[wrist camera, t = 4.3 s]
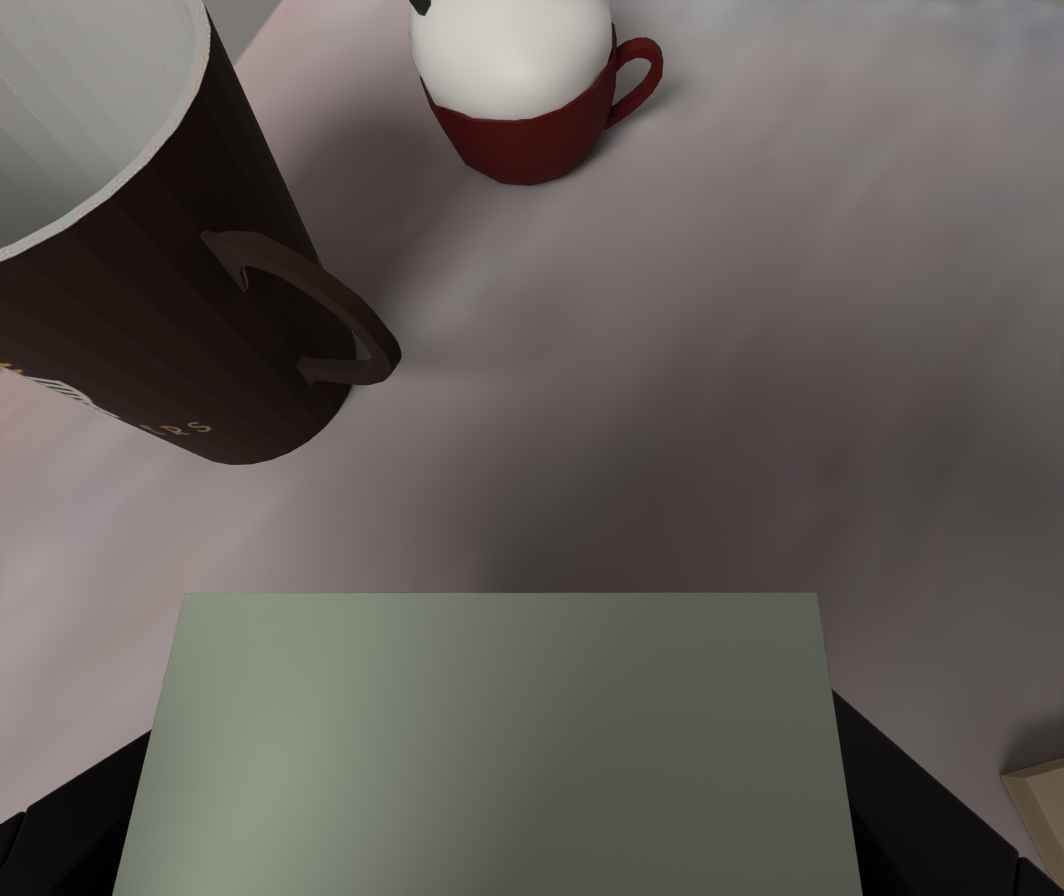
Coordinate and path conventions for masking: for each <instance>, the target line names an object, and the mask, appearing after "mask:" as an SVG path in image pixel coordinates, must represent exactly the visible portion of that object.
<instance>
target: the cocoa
mask: <svg viewBox="0 0 1064 896" xmlns="http://www.w3.org/2000/svg"><path fill="white" fill-rule="evenodd" d="M409 1H410V2H411V10H410V23H409V37H410V43H411V49H412V55H413V60H414V63H415V65H416V67H417V69H418V71H419V73H420V75H421V76H420V79H421V82H422V85H423V88H424V91H425V94H426V96H427V99H428V102H429V104H430V107H431V109H432V111H433V113H434V114H435V116H436V118H437V120H438V121H439V123H440V125H441V127H442V128H443V130H444V132H445V133H446V135H447V136H448V138H449V140H450V141H451V143H452V144H453V146H454V148H455V149H456V151H457V152H458V154H459V155H460V156H461V158H462V159H463V161H464V162H465V164H466V165H468V166H469V167H471V168H473V169H475V170H477V171H479V172H481V173H483V174H485V175H487V176H488V177H490V178H492V179H494V180H496V181H498V182H500V183H508V184H522V185H532V184H536V183H540V182H543V181H547V180H551V179H554V178H558V177H560V176H562V175H563V174H564V173H566V172H567V171H569V170H570V169H571V168H573V167H574V166H576V165H577V164H579V163H580V162H581V161H583V160H584V159H585V157H586V156H587V155H588V154H589V153H590V152H591V151H592V149H593V147H594V145H595V144H596V142H597V140H598V138H599V137H600V135H601V133H602V131H603V130H606V129H608V128H610V127H612V126H613V125H614V124H616V123H617V122H619V121H620V120H622V119H623V118H625V117H626V116H628V115H629V114H630V113H631V112H633V111H634V110H635V109H636V108H637V107H639V106H640V105H641V104H642V103H643V102H644V101H645V100H646V99H647V98H648V97H649V96H650V95H651V94H652V93H653V91H654V90H655V88H656V87H657V85H658V83H659V81H660V79H661V78H662V71H663V56H662V52H661V49H660V47H659V46H658V45H657V44H656V42H655V41H654V40H651V39H649V38H647V37H644V38H635V39H632V40H628V41H626V42H624V43H623V44H621V45H620V46H618V47H617V39H616V33H615V26H614V24H613V23H612V22H611V10H610V0H409ZM635 58H645V59H648V60H649V61H650V62H651V63H652V64H651V68H650V70H649V72H648V74H647V76H646V77H645V79H644V80H643V81H642V83H640V84H639V85H638V86H637V87H636V88H635V89H634V90H633V91H631V92H630V93H629V94H628V95H626V96H625V97H624V98H623V99H621V100H620V101H619V102H618V103H616V104H615V105H613V106H611V105H612V100H613V96H614V91H615V86H616V72H617V71H618V70H619V69H620V68H621V67H622V66H623V65H624V64H625V63H626V62H628V61H630V60H633V59H635Z"/></svg>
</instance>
